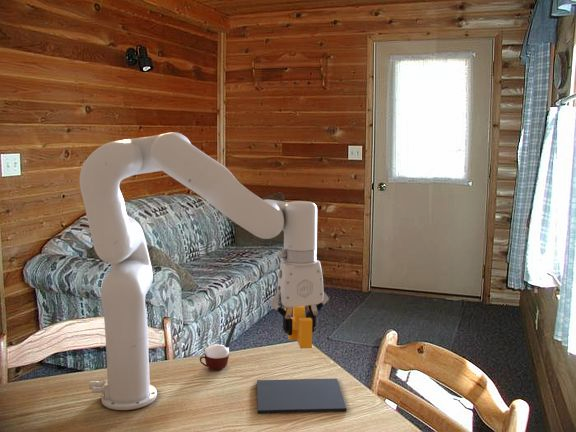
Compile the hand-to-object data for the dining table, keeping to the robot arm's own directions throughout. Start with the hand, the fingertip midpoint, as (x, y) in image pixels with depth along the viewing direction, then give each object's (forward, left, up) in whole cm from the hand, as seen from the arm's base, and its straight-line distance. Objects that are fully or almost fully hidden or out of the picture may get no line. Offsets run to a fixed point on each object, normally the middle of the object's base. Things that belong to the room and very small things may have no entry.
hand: (299, 331), depth 144 cm
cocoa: (-20, +18, -16) cm, 31 cm away
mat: (0, 0, -16) cm, 16 cm away
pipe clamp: (0, 0, -2) cm, 2 cm away
